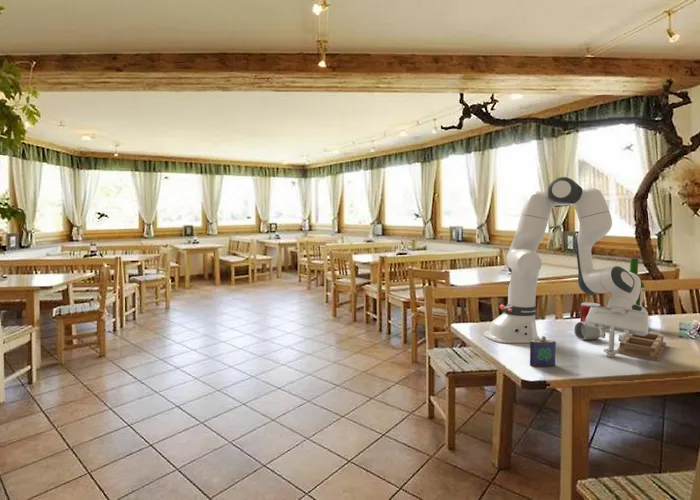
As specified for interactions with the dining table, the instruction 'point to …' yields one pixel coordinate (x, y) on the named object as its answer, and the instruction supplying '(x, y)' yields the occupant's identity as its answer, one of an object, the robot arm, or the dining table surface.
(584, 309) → the canned food
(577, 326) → the ceramic mug
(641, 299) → the wine bottle
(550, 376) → the dining table surface
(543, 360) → the flask
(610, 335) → the screw
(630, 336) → the rack
